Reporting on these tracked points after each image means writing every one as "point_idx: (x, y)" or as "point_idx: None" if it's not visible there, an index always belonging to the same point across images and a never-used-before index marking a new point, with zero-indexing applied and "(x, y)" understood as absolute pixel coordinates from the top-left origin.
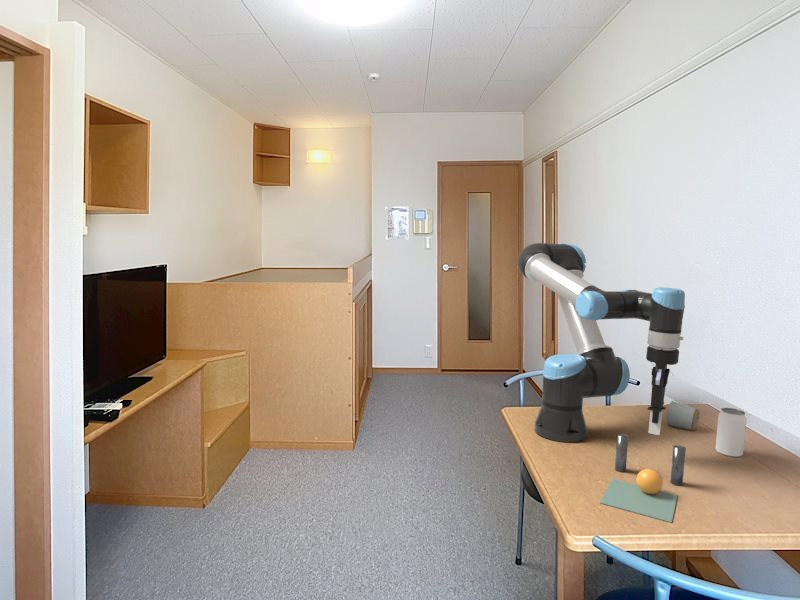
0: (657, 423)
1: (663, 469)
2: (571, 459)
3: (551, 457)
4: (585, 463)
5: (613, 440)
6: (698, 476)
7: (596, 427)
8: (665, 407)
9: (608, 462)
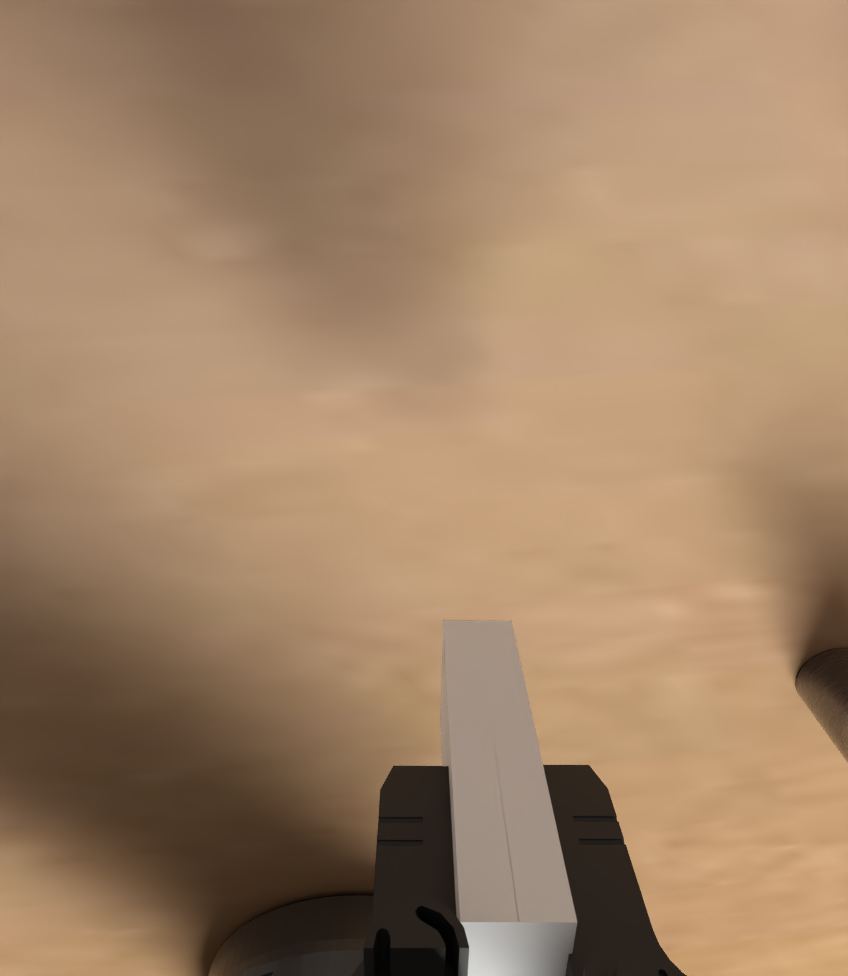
0: (591, 770)
1: (682, 430)
2: (772, 894)
3: (788, 961)
4: (804, 836)
5: (270, 772)
6: (712, 135)
7: (88, 877)
8: (394, 948)
9: (724, 746)
